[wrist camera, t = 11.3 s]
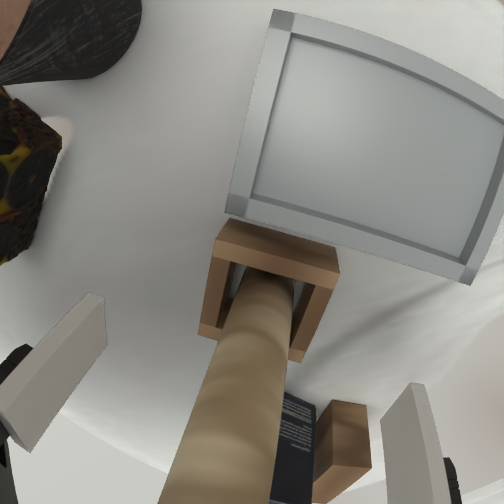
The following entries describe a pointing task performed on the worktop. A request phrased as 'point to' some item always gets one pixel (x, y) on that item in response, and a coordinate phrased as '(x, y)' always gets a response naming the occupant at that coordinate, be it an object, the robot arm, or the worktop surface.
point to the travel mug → (63, 38)
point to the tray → (370, 148)
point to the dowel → (238, 402)
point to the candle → (22, 173)
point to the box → (294, 454)
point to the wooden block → (340, 449)
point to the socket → (275, 261)
